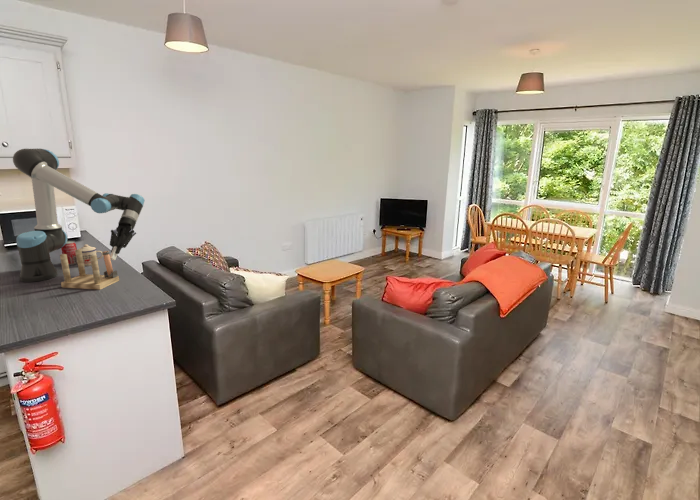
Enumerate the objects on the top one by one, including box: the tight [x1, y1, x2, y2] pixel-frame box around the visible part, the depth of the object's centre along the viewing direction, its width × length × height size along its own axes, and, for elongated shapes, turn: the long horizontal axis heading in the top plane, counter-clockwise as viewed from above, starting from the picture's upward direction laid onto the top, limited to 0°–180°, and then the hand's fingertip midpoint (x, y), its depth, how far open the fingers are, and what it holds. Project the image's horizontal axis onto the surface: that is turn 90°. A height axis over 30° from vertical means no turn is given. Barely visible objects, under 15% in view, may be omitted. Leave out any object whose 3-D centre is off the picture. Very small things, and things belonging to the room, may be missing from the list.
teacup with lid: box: [79, 243, 104, 267], centre depth 216 cm, size 12×9×12 cm
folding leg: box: [101, 250, 114, 277], centre depth 186 cm, size 3×3×13 cm
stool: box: [59, 248, 120, 290], centre depth 183 cm, size 20×13×16 cm, turn 85°
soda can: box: [60, 240, 78, 266], centre depth 214 cm, size 7×7×13 cm
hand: (112, 258), depth 187 cm, fingers closed
